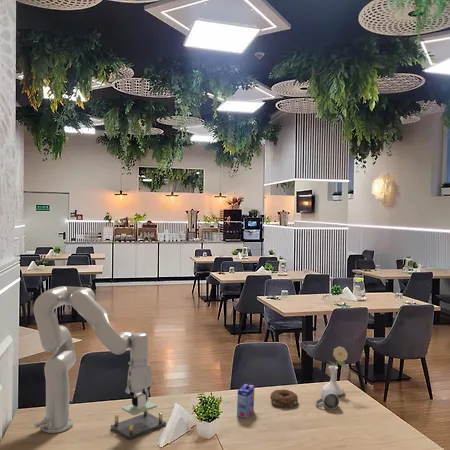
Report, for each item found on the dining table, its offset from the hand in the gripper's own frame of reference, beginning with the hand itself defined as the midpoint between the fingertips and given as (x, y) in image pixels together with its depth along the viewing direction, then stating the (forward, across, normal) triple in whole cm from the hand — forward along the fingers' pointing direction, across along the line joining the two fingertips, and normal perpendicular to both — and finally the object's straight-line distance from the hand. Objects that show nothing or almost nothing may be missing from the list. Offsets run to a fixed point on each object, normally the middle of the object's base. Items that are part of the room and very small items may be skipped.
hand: (139, 403), depth 190 cm
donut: (+11, +67, -28) cm, 73 cm away
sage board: (+2, 0, 0) cm, 2 cm away
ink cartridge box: (+11, +44, -23) cm, 50 cm away
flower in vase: (+12, +96, -39) cm, 104 cm away
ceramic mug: (+12, +78, -45) cm, 91 cm away
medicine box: (+10, +15, +20) cm, 27 cm away
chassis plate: (+10, 0, 0) cm, 10 cm away
